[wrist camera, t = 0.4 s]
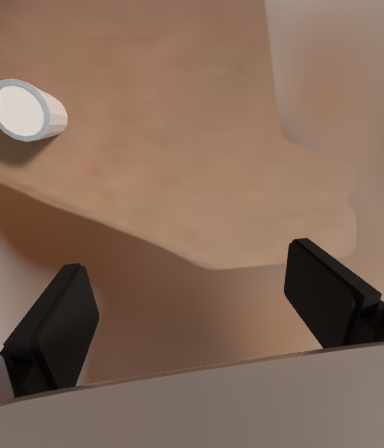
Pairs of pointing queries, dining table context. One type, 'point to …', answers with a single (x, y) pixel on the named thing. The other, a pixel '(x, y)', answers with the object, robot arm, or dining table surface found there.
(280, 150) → the dining table surface
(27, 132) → the shot glass
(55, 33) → the dining table surface
